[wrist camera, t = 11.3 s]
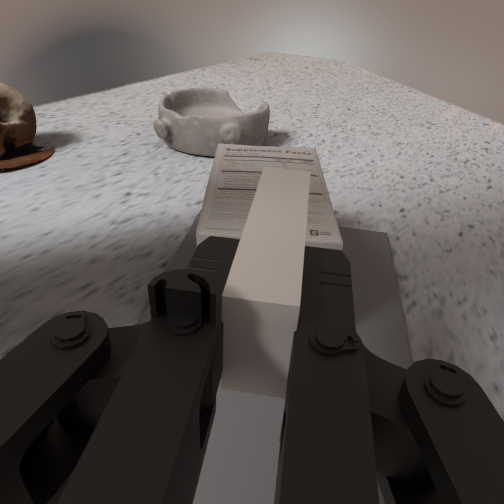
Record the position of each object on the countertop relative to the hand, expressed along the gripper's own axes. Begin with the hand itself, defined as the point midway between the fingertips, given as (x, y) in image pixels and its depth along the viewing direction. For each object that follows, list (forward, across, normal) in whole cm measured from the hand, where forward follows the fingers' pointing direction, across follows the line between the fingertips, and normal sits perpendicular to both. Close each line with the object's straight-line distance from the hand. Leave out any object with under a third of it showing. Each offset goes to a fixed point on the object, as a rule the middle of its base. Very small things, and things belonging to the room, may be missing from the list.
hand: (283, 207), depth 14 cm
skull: (+27, -33, -12) cm, 44 cm away
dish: (+38, -11, -12) cm, 42 cm away
